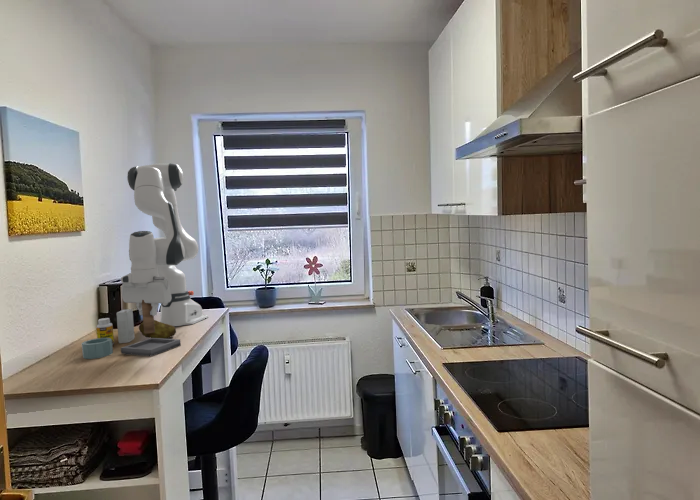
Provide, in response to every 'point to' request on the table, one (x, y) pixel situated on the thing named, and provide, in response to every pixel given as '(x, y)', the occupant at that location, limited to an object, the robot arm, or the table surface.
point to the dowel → (147, 318)
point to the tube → (97, 348)
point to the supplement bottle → (105, 329)
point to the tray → (150, 346)
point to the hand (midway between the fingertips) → (148, 315)
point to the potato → (159, 330)
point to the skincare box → (125, 326)
